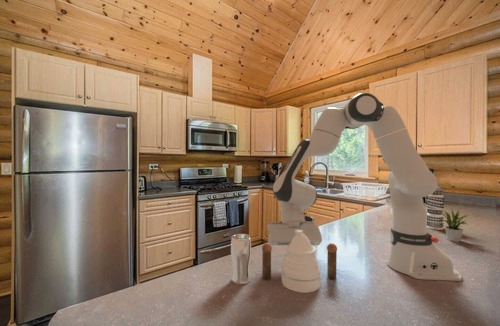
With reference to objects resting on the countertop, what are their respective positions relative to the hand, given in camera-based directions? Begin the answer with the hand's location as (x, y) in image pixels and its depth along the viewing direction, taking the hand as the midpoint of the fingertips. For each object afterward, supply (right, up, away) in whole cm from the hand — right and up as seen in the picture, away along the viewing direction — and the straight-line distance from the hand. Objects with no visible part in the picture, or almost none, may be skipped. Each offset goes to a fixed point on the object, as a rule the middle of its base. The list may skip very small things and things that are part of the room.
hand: (297, 255), depth 86 cm
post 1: (-11, -6, -3) cm, 13 cm away
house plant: (+88, -6, +35) cm, 95 cm away
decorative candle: (+96, -6, +58) cm, 112 cm away
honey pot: (0, -7, -6) cm, 9 cm away
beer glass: (-20, -7, -5) cm, 22 cm away
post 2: (+12, -6, -3) cm, 14 cm away
